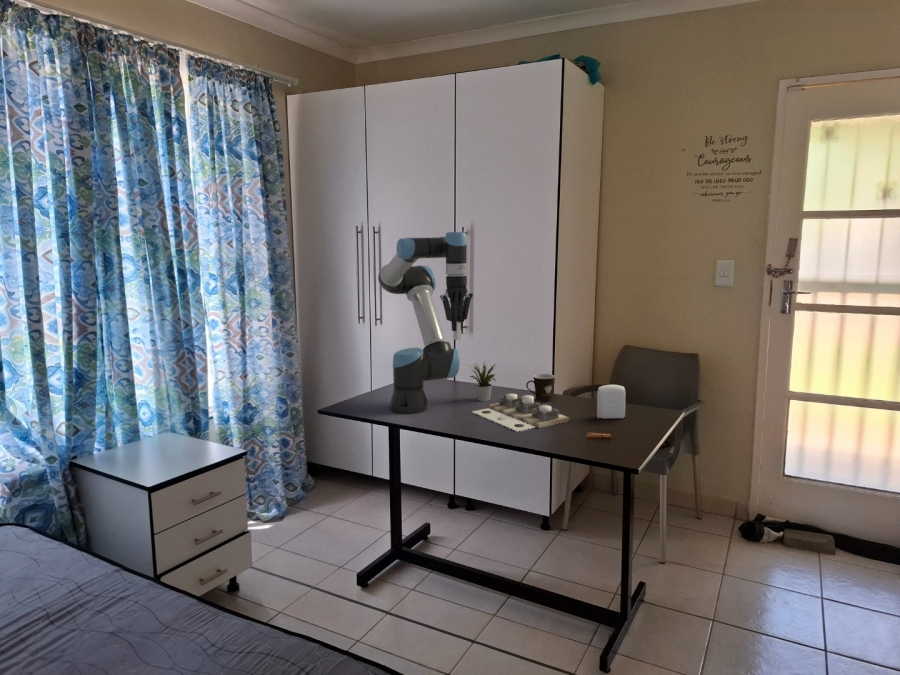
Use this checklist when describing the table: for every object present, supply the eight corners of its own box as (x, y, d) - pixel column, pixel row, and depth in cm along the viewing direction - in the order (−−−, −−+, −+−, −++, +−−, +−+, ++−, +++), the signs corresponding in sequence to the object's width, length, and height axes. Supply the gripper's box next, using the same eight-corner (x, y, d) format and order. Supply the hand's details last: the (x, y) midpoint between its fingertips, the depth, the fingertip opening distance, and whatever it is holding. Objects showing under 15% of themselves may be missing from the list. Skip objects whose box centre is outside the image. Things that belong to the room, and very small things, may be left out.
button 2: (536, 415, 231) (536, 406, 230) (545, 413, 233) (546, 404, 233) (544, 418, 227) (544, 409, 227) (553, 416, 230) (554, 407, 229)
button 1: (503, 403, 248) (503, 394, 247) (512, 401, 250) (512, 392, 249) (510, 405, 244) (510, 397, 243) (519, 404, 246) (519, 395, 246)
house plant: (461, 404, 254) (461, 364, 251) (464, 395, 268) (464, 357, 265) (497, 405, 252) (497, 364, 249) (498, 395, 266) (498, 357, 263)
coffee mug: (553, 397, 262) (554, 373, 261) (555, 403, 254) (555, 378, 252) (525, 397, 263) (525, 373, 262) (526, 402, 255) (526, 378, 253)
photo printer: (598, 419, 232) (599, 386, 230) (595, 415, 236) (596, 383, 234) (626, 419, 232) (627, 386, 230) (623, 415, 236) (624, 383, 234)
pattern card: (471, 412, 242) (471, 411, 242) (488, 409, 246) (488, 407, 246) (517, 432, 219) (517, 430, 219) (535, 428, 223) (535, 426, 223)
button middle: (519, 405, 239) (519, 396, 238) (528, 403, 241) (528, 394, 241) (527, 408, 235) (527, 398, 235) (536, 406, 238) (536, 397, 237)
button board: (489, 408, 248) (489, 397, 247) (517, 402, 255) (517, 391, 254) (539, 428, 223) (539, 415, 222) (569, 421, 230) (569, 409, 229)
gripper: (446, 276, 222) (447, 342, 226) (477, 274, 229) (477, 339, 233) (435, 275, 228) (436, 339, 232) (465, 273, 235) (466, 336, 239)
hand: (457, 339), depth 233 cm, fingers closed
